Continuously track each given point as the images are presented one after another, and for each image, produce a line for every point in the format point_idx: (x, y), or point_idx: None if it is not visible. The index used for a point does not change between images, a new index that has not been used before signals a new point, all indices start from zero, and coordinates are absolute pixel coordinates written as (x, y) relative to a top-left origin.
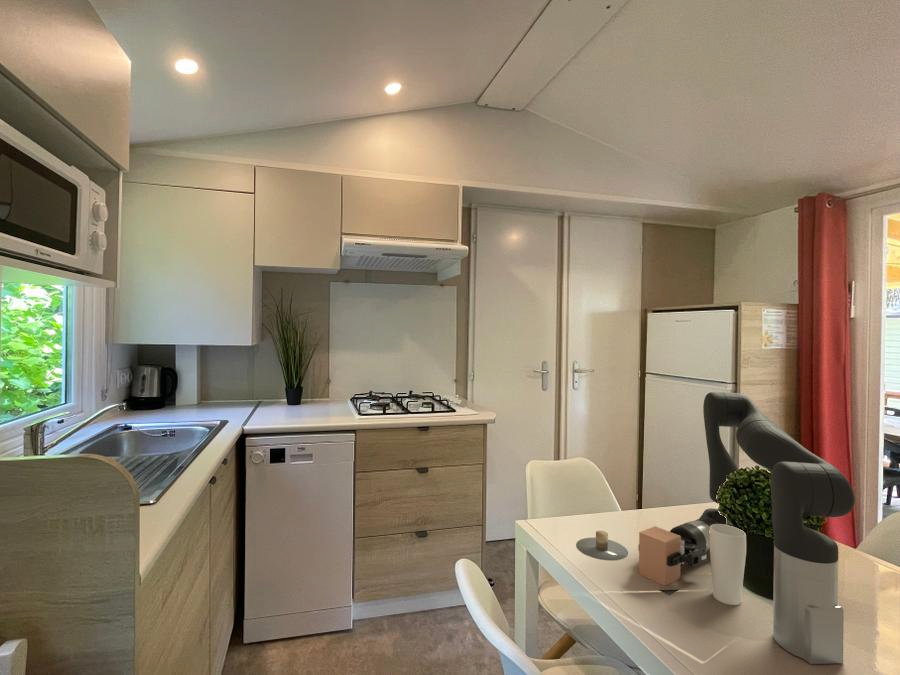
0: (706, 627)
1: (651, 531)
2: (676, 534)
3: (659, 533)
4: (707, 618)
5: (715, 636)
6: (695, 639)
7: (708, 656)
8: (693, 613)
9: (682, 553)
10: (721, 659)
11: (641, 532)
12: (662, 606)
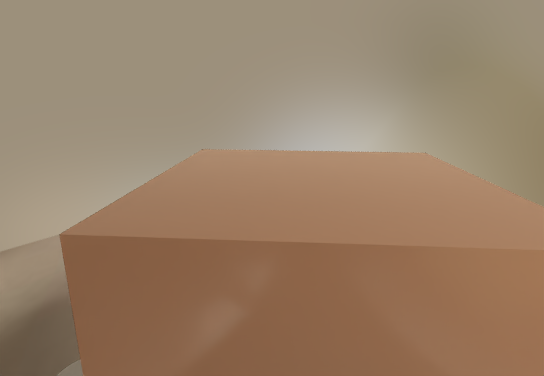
0: (30, 312)
1: (407, 173)
2: (143, 235)
3: (331, 180)
4: (8, 354)
5: (10, 297)
6: None
7: (53, 248)
8: (66, 346)
9: (74, 366)
10: (23, 254)
11: (415, 155)
12: None
